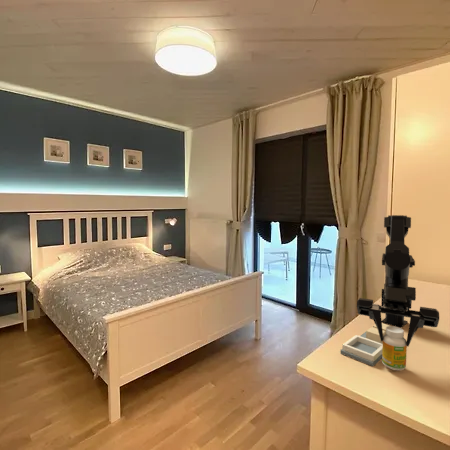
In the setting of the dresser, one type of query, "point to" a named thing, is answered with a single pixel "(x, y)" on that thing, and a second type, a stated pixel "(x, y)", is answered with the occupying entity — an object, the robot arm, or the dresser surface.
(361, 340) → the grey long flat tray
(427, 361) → the dresser surface
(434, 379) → the dresser surface
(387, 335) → the supplement bottle
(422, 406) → the dresser surface
